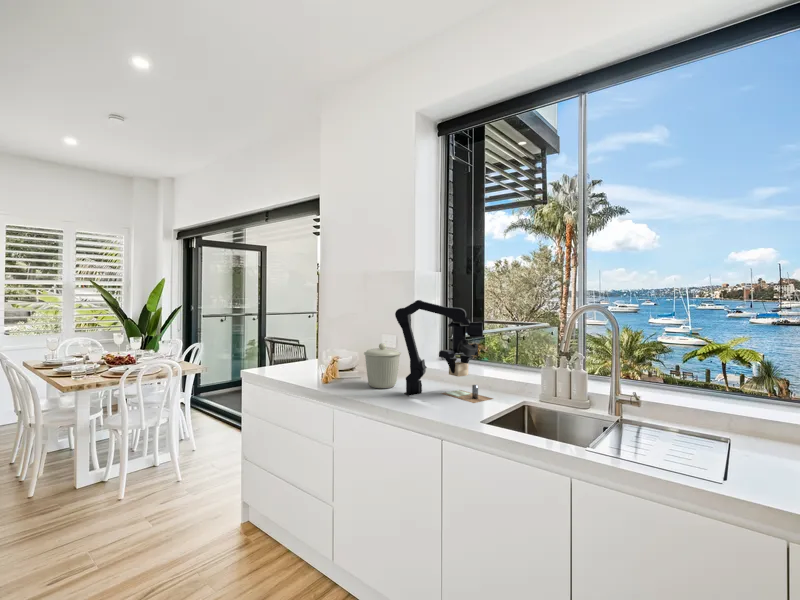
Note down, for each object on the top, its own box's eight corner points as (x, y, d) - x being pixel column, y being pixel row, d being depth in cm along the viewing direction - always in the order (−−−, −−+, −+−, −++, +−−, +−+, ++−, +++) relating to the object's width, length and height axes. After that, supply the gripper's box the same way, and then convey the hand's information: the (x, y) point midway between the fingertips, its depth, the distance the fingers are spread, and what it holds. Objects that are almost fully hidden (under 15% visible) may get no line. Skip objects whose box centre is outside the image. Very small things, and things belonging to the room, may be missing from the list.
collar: (458, 376, 180) (458, 365, 180) (448, 374, 185) (448, 363, 185) (468, 375, 184) (468, 363, 184) (458, 373, 189) (458, 361, 188)
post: (475, 399, 175) (475, 386, 175) (471, 398, 177) (471, 385, 177) (479, 398, 176) (479, 385, 176) (475, 397, 178) (475, 384, 178)
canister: (388, 392, 193) (388, 346, 193) (356, 387, 202) (356, 343, 202) (407, 385, 209) (407, 342, 208) (376, 381, 218) (376, 340, 217)
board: (473, 406, 169) (474, 402, 169) (440, 396, 185) (440, 392, 185) (493, 402, 176) (494, 398, 176) (459, 393, 192) (459, 389, 192)
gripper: (456, 339, 172) (455, 378, 172) (487, 337, 183) (487, 373, 183) (438, 337, 181) (437, 373, 181) (469, 335, 192) (468, 369, 192)
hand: (458, 372), depth 184 cm, fingers closed on collar, 6 cm apart
